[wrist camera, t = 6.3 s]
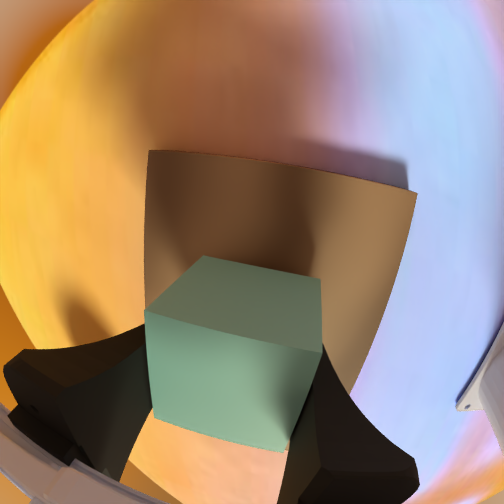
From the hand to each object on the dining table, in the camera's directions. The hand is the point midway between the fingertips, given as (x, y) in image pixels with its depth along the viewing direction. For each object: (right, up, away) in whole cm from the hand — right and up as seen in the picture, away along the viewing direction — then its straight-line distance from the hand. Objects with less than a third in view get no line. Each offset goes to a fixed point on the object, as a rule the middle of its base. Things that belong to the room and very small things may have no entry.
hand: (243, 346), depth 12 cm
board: (0, -1, +4) cm, 4 cm away
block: (0, +1, +2) cm, 2 cm away
